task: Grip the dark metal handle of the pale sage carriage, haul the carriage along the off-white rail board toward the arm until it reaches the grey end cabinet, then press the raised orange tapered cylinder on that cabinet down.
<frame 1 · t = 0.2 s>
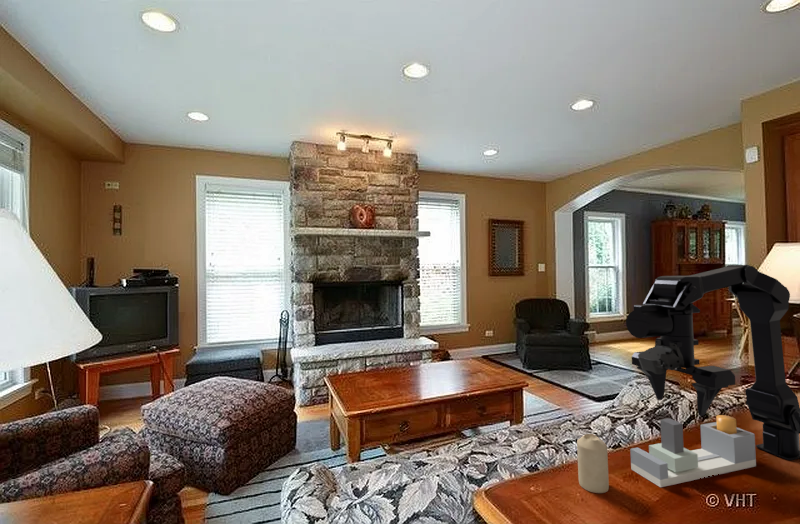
hand: (679, 407, 80), 14 cm above the table, tool pointing down, fingers open, 9 cm apart
candle: (593, 486, 76), on the table
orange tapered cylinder: (726, 430, 84), point 7 cm above the table, slide at 0.0 cm
rail: (693, 467, 81), on the table
carriage: (672, 442, 80), point 6 cm above the table, slide at 9.0 cm
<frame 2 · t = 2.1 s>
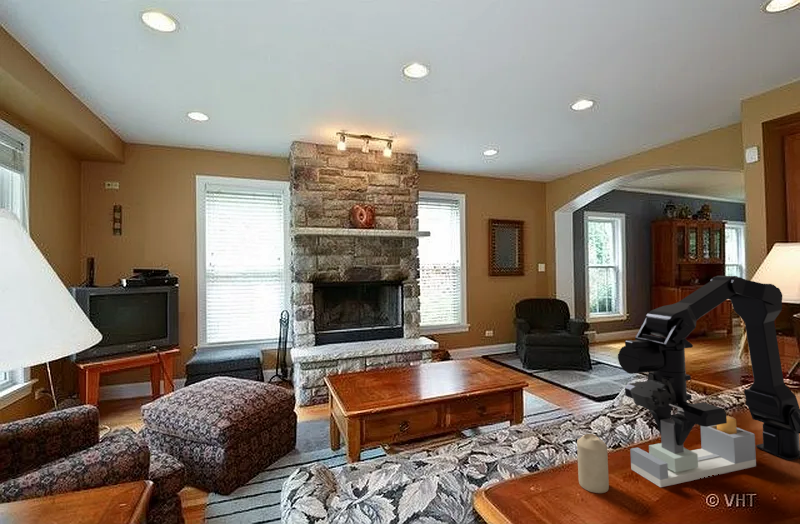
hand: (672, 441, 80), 7 cm above the table, tool pointing down, fingers closed on carriage, 3 cm apart
carriage: (672, 442, 80), point 6 cm above the table, slide at 9.0 cm, touching gripper
everything else where it was.
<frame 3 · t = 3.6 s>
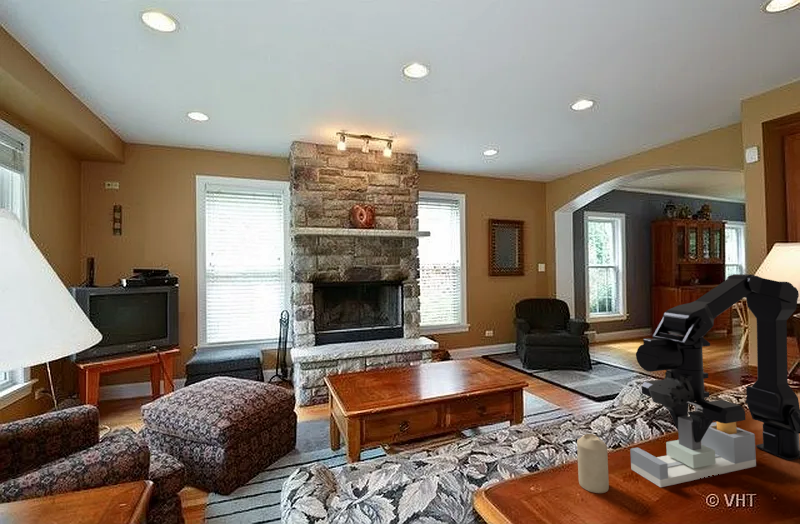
hand: (689, 438, 81), 6 cm above the table, tool pointing down, fingers closed on carriage, 3 cm apart
carriage: (689, 438, 81), point 6 cm above the table, slide at 4.2 cm, touching gripper
everything else where it was.
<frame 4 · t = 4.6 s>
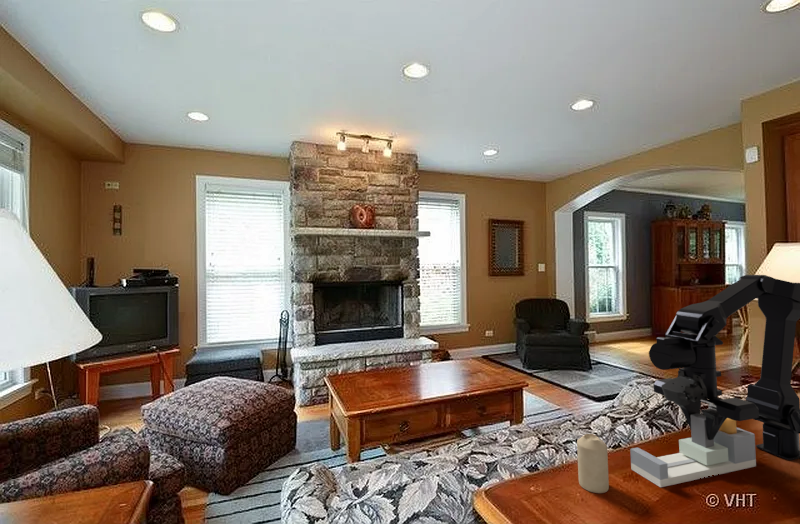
hand: (702, 436, 82), 6 cm above the table, tool pointing down, fingers closed on carriage, 3 cm apart
carriage: (702, 436, 82), point 6 cm above the table, slide at 0.6 cm, touching gripper
everything else where it was.
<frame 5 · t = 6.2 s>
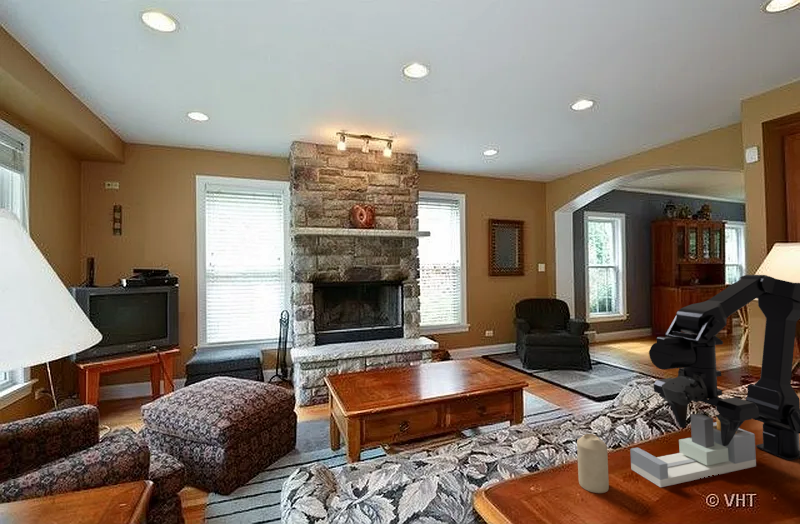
hand: (702, 436, 82), 6 cm above the table, tool pointing down, fingers open, 9 cm apart
carriage: (702, 436, 82), point 6 cm above the table, slide at 0.6 cm
everything else where it was.
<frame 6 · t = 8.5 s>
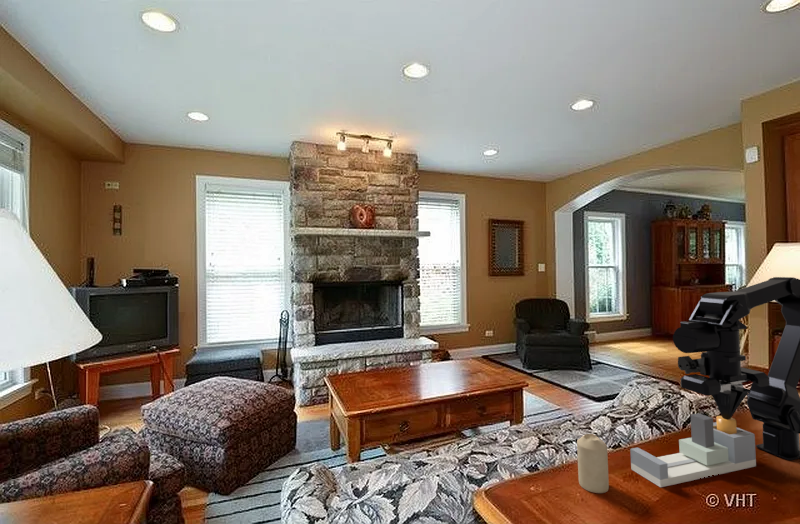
hand: (726, 418, 84), 9 cm above the table, tool pointing down, fingers closed, pressing on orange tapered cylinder
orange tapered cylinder: (726, 431, 84), point 7 cm above the table, slide at 0.2 cm, touching gripper
everything else where it was.
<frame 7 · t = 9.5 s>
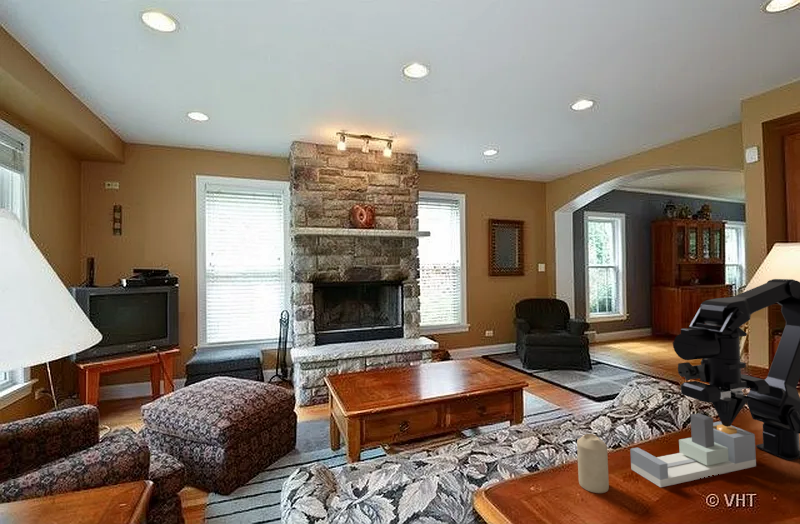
hand: (726, 425, 84), 8 cm above the table, tool pointing down, fingers closed
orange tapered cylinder: (727, 439, 84), point 5 cm above the table, slide at 2.2 cm
everything else where it was.
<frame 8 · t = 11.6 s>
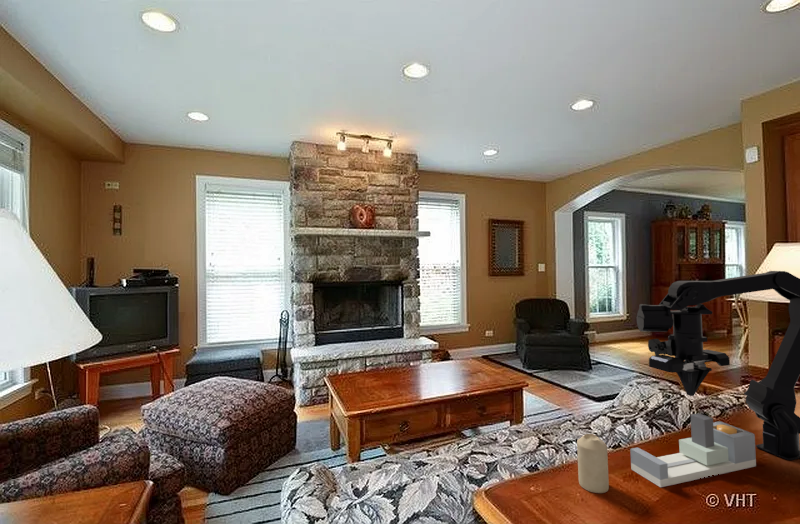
hand: (690, 395, 92), 12 cm above the table, tool pointing down, fingers closed
nothing on the table moved.
at the end: carriage slide at 0.6 cm; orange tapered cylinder slide at 2.2 cm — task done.
